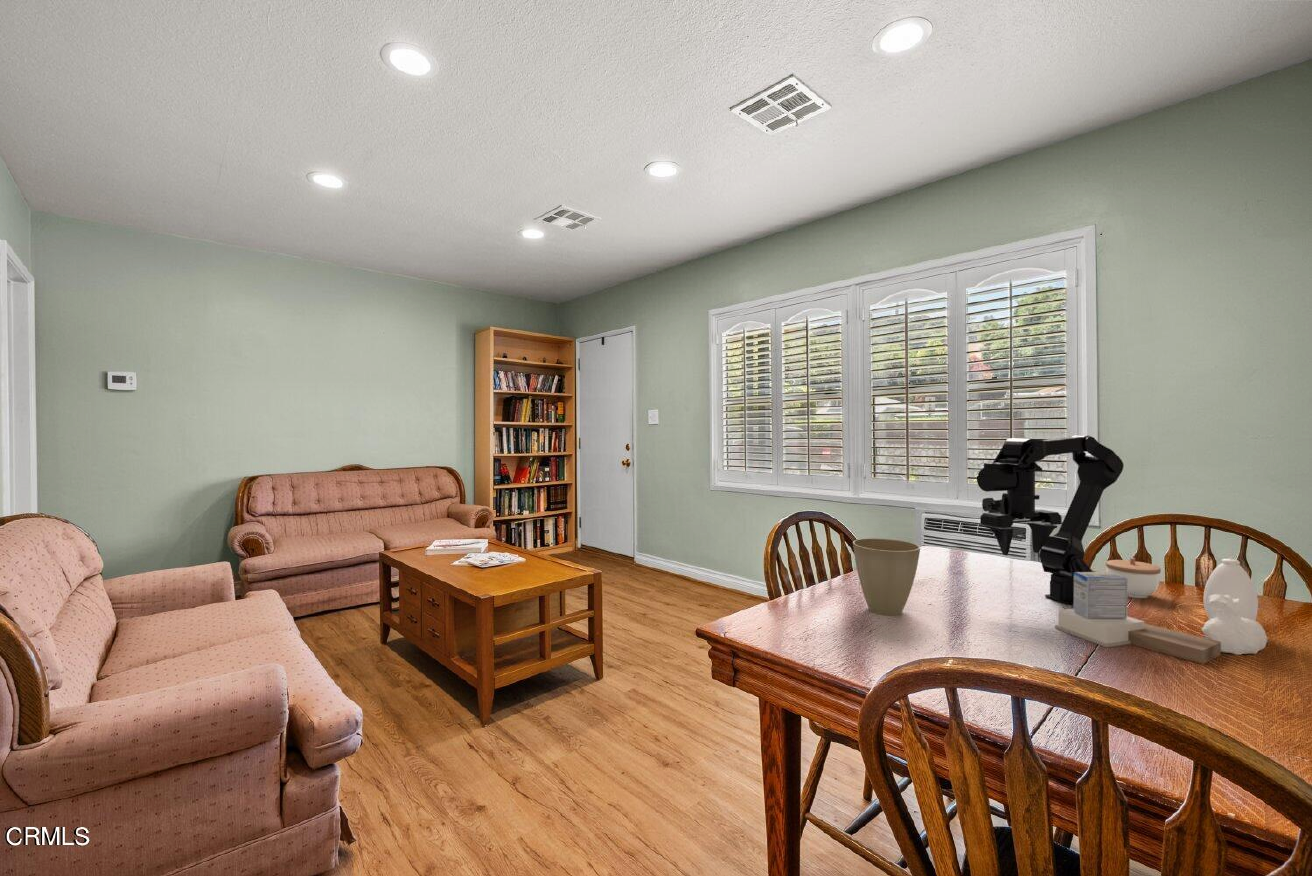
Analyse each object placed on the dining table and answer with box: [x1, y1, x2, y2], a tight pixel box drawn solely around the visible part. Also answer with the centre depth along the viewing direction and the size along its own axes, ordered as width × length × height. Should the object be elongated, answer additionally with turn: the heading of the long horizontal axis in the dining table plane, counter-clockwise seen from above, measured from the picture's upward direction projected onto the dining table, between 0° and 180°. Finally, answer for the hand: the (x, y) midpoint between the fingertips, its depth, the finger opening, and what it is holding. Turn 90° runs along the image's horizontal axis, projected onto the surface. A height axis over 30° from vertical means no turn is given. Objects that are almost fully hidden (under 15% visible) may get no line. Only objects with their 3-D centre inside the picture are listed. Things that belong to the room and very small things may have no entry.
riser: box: [1054, 608, 1145, 648], centre depth 116 cm, size 11×11×4 cm
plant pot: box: [852, 537, 921, 616], centre depth 133 cm, size 15×15×16 cm
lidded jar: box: [1105, 557, 1161, 599], centre depth 143 cm, size 11×11×9 cm
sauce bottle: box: [1202, 547, 1259, 621], centre depth 116 cm, size 8×8×18 cm
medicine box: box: [1073, 571, 1128, 619], centre depth 116 cm, size 8×4×9 cm, turn 86°
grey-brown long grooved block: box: [1128, 622, 1222, 665], centre depth 109 cm, size 8×12×2 cm, turn 29°
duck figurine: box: [1201, 594, 1268, 656], centre depth 109 cm, size 12×8×11 cm
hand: (1020, 553), depth 136 cm, fingers open, 9 cm apart
